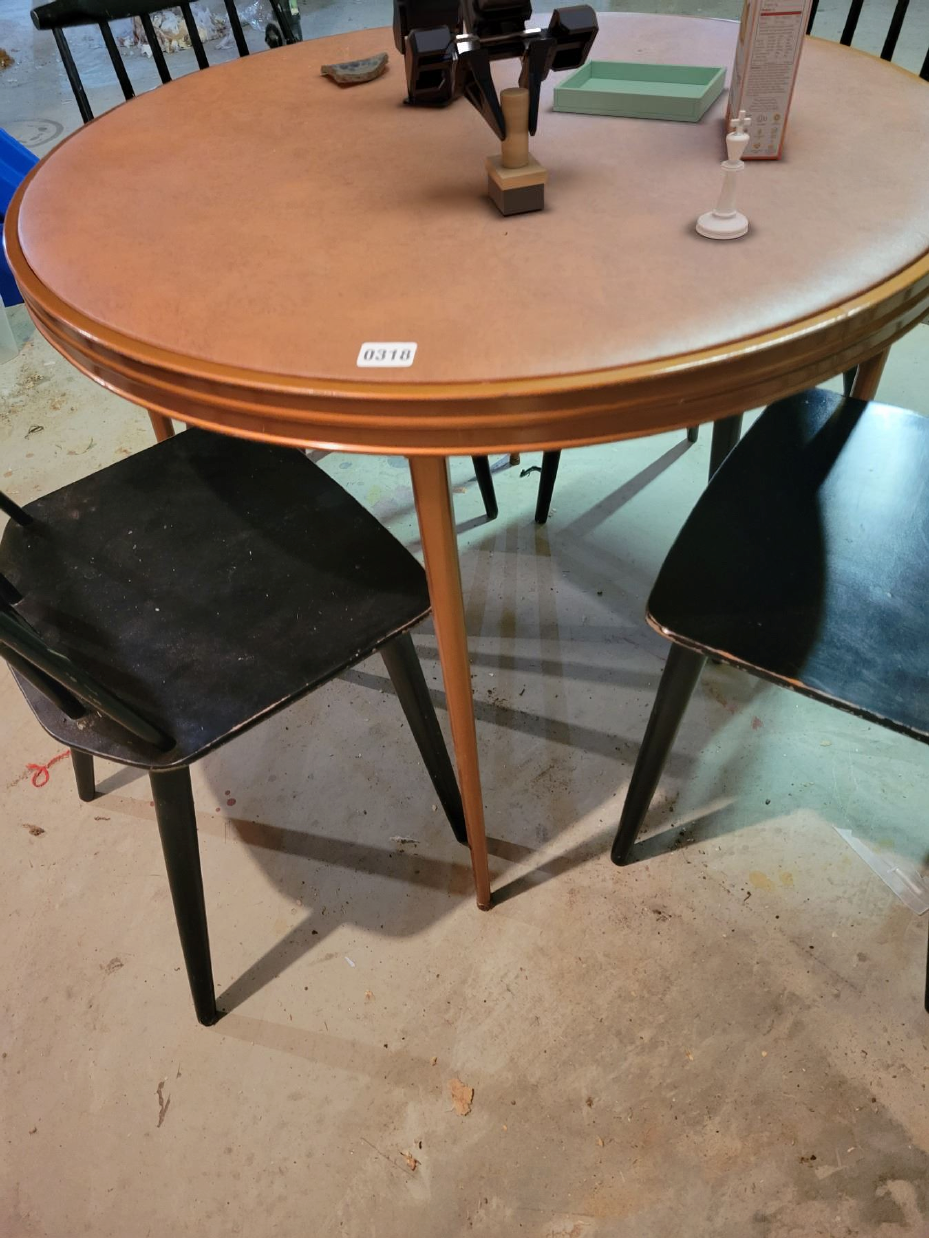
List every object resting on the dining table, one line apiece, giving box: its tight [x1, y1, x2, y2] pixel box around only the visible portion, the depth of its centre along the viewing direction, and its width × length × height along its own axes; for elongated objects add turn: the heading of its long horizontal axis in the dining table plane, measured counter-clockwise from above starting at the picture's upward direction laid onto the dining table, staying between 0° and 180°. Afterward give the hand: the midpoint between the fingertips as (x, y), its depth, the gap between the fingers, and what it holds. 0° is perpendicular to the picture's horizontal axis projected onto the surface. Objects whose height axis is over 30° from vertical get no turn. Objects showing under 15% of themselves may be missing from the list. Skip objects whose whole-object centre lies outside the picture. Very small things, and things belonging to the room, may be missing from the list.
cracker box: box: [725, 0, 813, 161], centre depth 83 cm, size 14×6×21 cm, turn 169°
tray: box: [552, 59, 728, 123], centre depth 102 cm, size 19×13×3 cm
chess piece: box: [695, 110, 751, 240], centre depth 72 cm, size 5×5×10 cm
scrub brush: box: [484, 86, 548, 216], centre depth 79 cm, size 6×5×10 cm
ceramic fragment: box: [319, 52, 390, 84], centre depth 118 cm, size 11×3×10 cm
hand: (518, 136), depth 77 cm, fingers closed on scrub brush, 3 cm apart
